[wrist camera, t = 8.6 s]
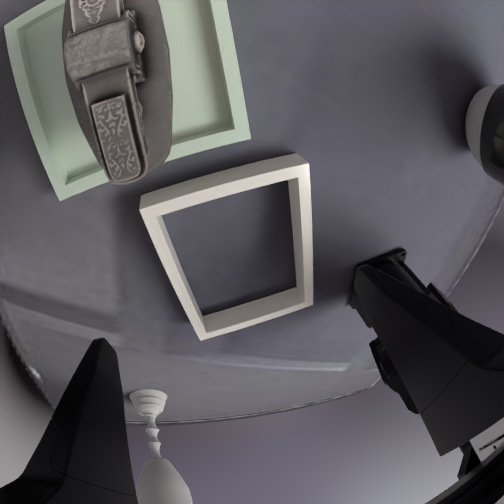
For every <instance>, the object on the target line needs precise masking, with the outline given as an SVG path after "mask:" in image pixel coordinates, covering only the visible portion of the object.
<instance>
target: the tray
mask: <svg viewBox="0 0 504 504" xmlns="http://www.w3.org/2000/svg"><path fill="white" fill-rule="evenodd" d="M158 2H159V4H160V8H161V13H162V17H163V22H164V27H165V31H166V36H167V41H168V45H169V50H170V64H171V78H172V90H173V120H172V146H171V151H170V154H169V156H168V157H167V159H166V160H165V162H167V161H170V160H173V159H176V158H180V157H183V156H186V155H190V154H193V153H197V152H201V151H204V150H208V149H212V148H216V147H219V146H223V145H227V144H231V143H236V142H240V141H244V140H248V139H251V136H250V130H249V124H248V118H247V113H246V107H245V101H244V95H243V89H242V84H241V78H240V72H239V67H238V61H237V56H236V50H235V45H234V39H233V34H232V28H231V23H230V18H229V12H228V7H227V2H226V0H158ZM64 7H65V0H46V1H44V2H42V3H40V4H39V5H37V6H35V7H33V8H32V9H30V10H28V11H26V12H25V13H23V14H22V15H20V16H18V17H17V18H15V19H14V20H12V21H11V22H9V23H8V24H6V25H5V26H4V30H5V36H6V42H7V48H8V53H9V58H10V62H11V67H12V71H13V75H14V79H15V83H16V87H17V90H18V94H19V97H20V101H21V104H22V107H23V111H24V114H25V117H26V120H27V123H28V126H29V129H30V131H31V134H32V137H33V140H34V142H35V145H36V148H37V150H38V153H39V155H40V158H41V160H42V163H43V165H44V168H45V170H46V172H47V175H48V177H49V179H50V181H51V184H52V186H53V188H54V190H55V192H56V195H57V197H58V199H59V201H62V200H64V199H67V198H69V197H71V196H74V195H76V194H78V193H81V192H83V191H86V190H88V189H90V188H93V187H96V186H98V185H101V184H103V183H106V182H108V181H109V180H108V178H107V176H106V174H105V172H104V169H103V168H102V167H101V166H100V164H99V163H98V161H97V159H96V157H95V155H94V154H93V152H92V150H91V148H90V146H89V144H88V142H87V140H86V138H85V136H84V134H83V132H82V130H81V128H80V126H79V123H78V120H77V117H76V114H75V111H74V107H73V104H72V101H71V98H70V94H69V91H68V88H67V84H66V79H65V71H64V61H63V50H62V25H63V15H64Z"/></svg>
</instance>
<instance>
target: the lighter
mask: <svg viewBox="0 0 504 504" xmlns="http://www.w3.org/2000/svg"><path fill="white" fill-rule="evenodd" d="M62 50H63V61H64V71H65V79H66V84H67V88H68V91H69V94H70V98H71V101H72V104H73V107H74V111H75V114H76V117H77V120H78V123H79V126H80V128H81V130H82V132H83V134H84V136H85V138H86V140H87V142H88V144H89V146H90V148H91V150H92V152H93V154H94V155H95V157H96V159H97V161H98V163H99V164H100V166H101V167H102V168H103V169H104V172H105V174H106V176H107V178H108V180H109V181H110V182H112V183H113V184H116V185H123V184H129V183H132V182H135V181H137V180H140V179H142V178H143V177H144V176H145V175H148V174H150V173H152V172H154V171H155V170H156V169H158V168H159V167H160V166H161V165H163V163H164V162H165V160H166V159H167V157H168V156H169V154H170V151H171V146H172V120H173V90H172V78H171V64H170V50H169V45H168V41H167V36H166V31H165V27H164V22H163V17H162V13H161V8H160V4H159V2H158V0H65V7H64V15H63V25H62Z"/></svg>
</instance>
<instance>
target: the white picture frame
mask: <svg viewBox="0 0 504 504" xmlns="http://www.w3.org/2000/svg"><path fill="white" fill-rule="evenodd" d="M285 180H288V187H289V197H290V208H291V219H292V231H293V243H294V257H295V271H296V286H297V287H295V288H292V289H289V290H286V291H283V292H280V293H276V294H273V295H270V296H267V297H264V298H261V299H258V300H255V301H251V302H248V303H245V304H242V305H238V306H235V307H232V308H229V309H225V310H222V311H219V312H215V313H212V314H209V315H205V316H202V313H201V311H200V309H199V307H198V304H197V302H196V300H195V298H194V295H193V293H192V291H191V288H190V286H189V284H188V281H187V279H186V276H185V274H184V272H183V269H182V267H181V264H180V262H179V259H178V257H177V255H176V252H175V250H174V247H173V244H172V242H171V239H170V237H169V234H168V232H167V229H166V226H165V224H164V221H163V219H162V216H161V215H164V214H167V213H170V212H173V211H176V210H180V209H183V208H186V207H190V206H193V205H196V204H200V203H203V202H206V201H210V200H213V199H217V198H220V197H224V196H228V195H231V194H235V193H238V192H242V191H246V190H250V189H253V188H257V187H261V186H265V185H269V184H273V183H277V182H281V181H285ZM139 210H140V213H141V215H142V218H143V220H144V222H145V225H146V227H147V230H148V232H149V234H150V237H151V239H152V241H153V244H154V246H155V248H156V250H157V253H158V255H159V257H160V259H161V262H162V264H163V266H164V268H165V270H166V273H167V275H168V277H169V279H170V281H171V283H172V285H173V287H174V290H175V292H176V294H177V296H178V298H179V300H180V302H181V304H182V306H183V308H184V310H185V312H186V314H187V316H188V318H189V320H190V322H191V324H192V326H193V328H194V330H195V332H196V333H197V335H198V337H199V339H200V341H201V340H205V339H208V338H212V337H215V336H218V335H222V334H225V333H229V332H232V331H235V330H239V329H242V328H245V327H248V326H251V325H255V324H258V323H261V322H264V321H267V320H270V319H273V318H276V317H279V316H282V315H285V314H288V313H291V312H294V311H297V310H300V309H303V308H305V307H308V306H311V305H313V242H312V212H311V190H310V173H309V163H308V162H307V161H306V160H304V159H303V158H302V157H301V156H299V155H298V154H297V153H294V154H289V155H285V156H280V157H276V158H271V159H267V160H263V161H259V162H254V163H250V164H246V165H242V166H238V167H234V168H231V169H227V170H223V171H219V172H216V173H212V174H208V175H205V176H201V177H198V178H194V179H191V180H188V181H184V182H181V183H178V184H174V185H171V186H168V187H165V188H162V189H158V190H155V191H152V192H149V193H146V194H143V195H141V200H140V208H139Z"/></svg>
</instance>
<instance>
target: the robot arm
mask: <svg viewBox="0 0 504 504" xmlns="http://www.w3.org/2000/svg"><path fill="white" fill-rule="evenodd" d="M406 254H407V252H406V250H405V249H400V250H397V251H395V252H392V253H390V254H387V255H384V256H382V257H379V258H376V259H374V260H371V261H368V262H366V263H363V264H360V265H358V266H357V267H356V269H355V276H354V283H353V288H352V295H351V304H350V306H351V307H352V309H356V310H357V312H358V313H359V315H360V316H361V318H362V319H363V321H364V322H365V324H366V325H367V327H369V328H372V327H373V329H374V330H375V332H376V334H377V335H378V337H377V338H376V339H375V340H373V341H371V342H370V343H369V345H370V348H371V352H372V354H373V357H374V359H375V362H376V364H377V367H378V369H379V372H380V374H381V377H382V379H383V381H384V383H385V384H386V385H388V386H389V387H390V388H391V389H392V390H394V391H395V392H397V393H399V394H400V396H401V398H402V400H403V401H404V403H405V405H406V407H407V408H408V410H410V411H412V412H413V413H415V414H420V415H421V417H422V419H423V421H424V423H425V425H426V428H427V430H428V432H429V434H430V436H431V438H432V440H433V442H434V444H435V446H436V449H437V451H438V453H439V455H440V456H443V455H445V454H446V453H448V452H450V451H452V450H454V449H455V448H457V447H459V448H460V449H461V451H462V453H463V454H464V456H463V459H462V463H461V466H460V469H459V473H458V476H457V477H458V479H459V481H457V482H456V483H455V484H454V485H452V486H451V487H449V488H448V489H447V490H445V491H444V492H442V493H441V494H439V495H438V496H436V497H435V498H433V499H432V500H430V501H429V502H427V503H425V504H504V334H501V333H499V332H497V331H495V330H492V329H491V328H488V327H486V326H484V325H482V324H480V323H477V322H475V321H473V320H471V319H469V318H467V317H465V316H463V315H461V314H460V313H459V312H458V311H457V309H456V308H455V307H454V306H453V304H452V303H451V302H450V301H449V300H448V299H447V297H446V296H445V295H444V294H443V293H442V292H441V291H440V290H439V289H438V288H436V287H435V286H434V285H433V284H432V283H431V282H430V284H429V285H428V286H427V288H426V287H425V285H424V284H423V283H422V282H421V281H420V280H419V279H418V278H417V276H416V275H415V274H414V273H413V272H412V271H411V270H410V269H409V268H408V266H407V265H406V264H405V263H404V262H405V258H406ZM0 504H138V499H137V496H136V490H135V485H134V480H133V474H132V468H131V462H130V456H129V448H128V442H127V433H126V423H125V413H124V401H123V392H122V385H121V379H120V373H119V366H118V359H117V354H116V352H115V350H114V349H113V348H112V346H111V345H110V344H109V343H108V341H107V340H106V339H105V338H98V339H94V340H93V341H92V343H91V344H90V346H89V348H88V350H87V351H86V353H85V355H84V357H83V358H82V360H81V362H80V364H79V366H78V367H77V369H76V371H75V373H74V375H73V377H72V379H71V380H70V382H69V384H68V386H67V388H66V390H65V392H64V394H63V396H62V398H61V400H60V402H59V404H58V406H57V408H56V410H55V412H54V414H53V416H52V419H51V420H50V422H49V424H48V426H47V428H46V430H45V432H44V434H43V437H42V439H41V440H40V442H39V444H38V446H37V448H36V450H35V451H34V454H33V455H32V457H31V459H30V461H29V462H28V464H27V466H26V468H25V470H24V471H23V473H22V474H21V475H20V477H19V478H18V479H16V480H14V481H13V482H11V483H9V484H7V485H5V486H3V487H1V488H0Z"/></svg>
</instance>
